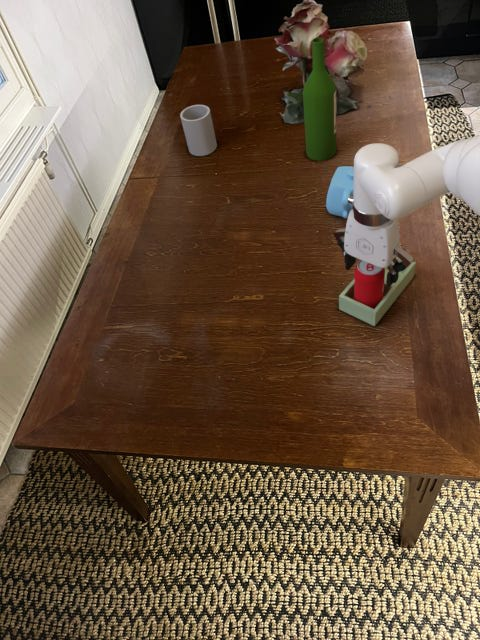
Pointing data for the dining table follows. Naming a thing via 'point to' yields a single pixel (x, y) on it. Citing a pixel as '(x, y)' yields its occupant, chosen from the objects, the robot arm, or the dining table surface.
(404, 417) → the dining table surface
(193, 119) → the cup
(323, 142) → the wine bottle
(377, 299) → the beverage can
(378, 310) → the can holder
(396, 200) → the robot arm
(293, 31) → the rose bouquet
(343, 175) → the teapot
